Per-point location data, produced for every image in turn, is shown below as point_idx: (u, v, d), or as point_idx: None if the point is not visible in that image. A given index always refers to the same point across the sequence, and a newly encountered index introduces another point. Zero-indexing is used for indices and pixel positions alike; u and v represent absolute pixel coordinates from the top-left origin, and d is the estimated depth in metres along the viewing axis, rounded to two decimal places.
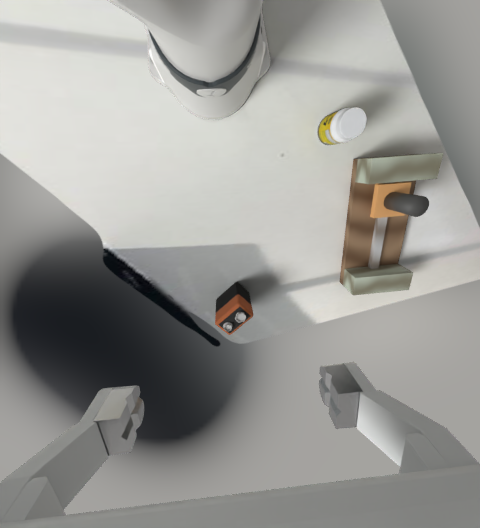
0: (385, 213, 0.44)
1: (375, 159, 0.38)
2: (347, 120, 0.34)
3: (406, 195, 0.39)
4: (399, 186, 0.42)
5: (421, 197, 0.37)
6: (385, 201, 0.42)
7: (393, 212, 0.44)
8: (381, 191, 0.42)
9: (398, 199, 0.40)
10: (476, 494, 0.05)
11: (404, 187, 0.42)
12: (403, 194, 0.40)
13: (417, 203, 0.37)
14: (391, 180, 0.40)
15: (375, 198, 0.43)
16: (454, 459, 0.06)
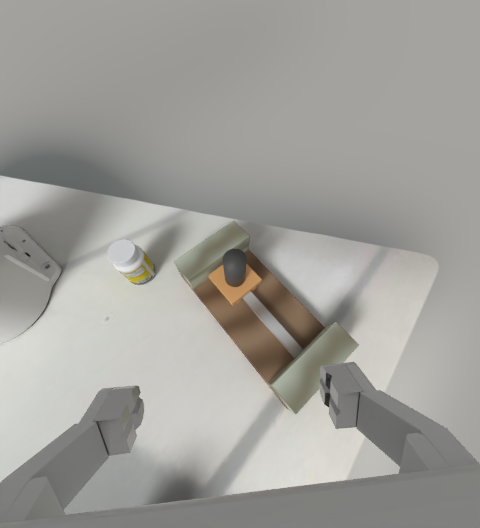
0: (240, 291, 0.36)
1: (177, 260, 0.36)
2: (114, 252, 0.34)
3: None
4: None
5: (228, 251, 0.31)
6: (226, 282, 0.36)
7: (247, 285, 0.36)
8: (216, 278, 0.37)
9: None
10: (476, 494, 0.05)
11: None
12: None
13: (229, 258, 0.31)
14: (208, 263, 0.36)
15: (217, 287, 0.37)
16: (454, 459, 0.06)
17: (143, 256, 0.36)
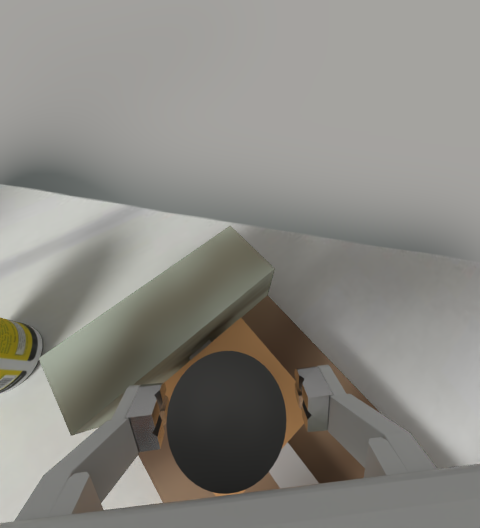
0: None
1: (50, 353, 0.11)
2: None
3: None
4: (217, 349, 0.13)
5: (196, 370, 0.07)
6: None
7: None
8: None
9: None
10: (476, 494, 0.05)
11: (234, 341, 0.13)
12: None
13: (200, 406, 0.06)
14: (148, 364, 0.11)
15: None
16: (413, 464, 0.06)
17: None
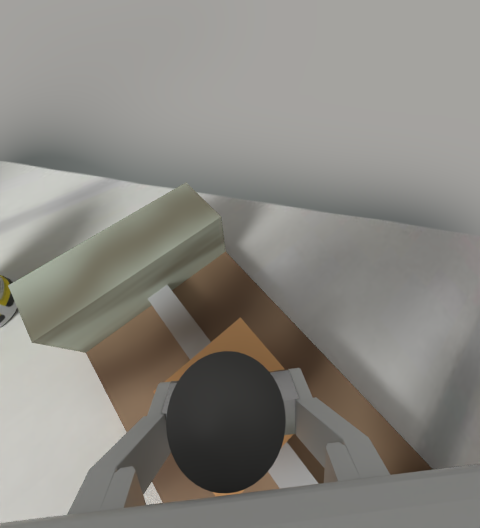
0: None
1: (18, 282, 0.13)
2: None
3: None
4: (217, 349, 0.13)
5: (196, 370, 0.07)
6: None
7: None
8: None
9: None
10: (476, 494, 0.05)
11: (234, 340, 0.13)
12: None
13: (200, 406, 0.06)
14: (102, 290, 0.13)
15: None
16: (366, 470, 0.06)
17: None
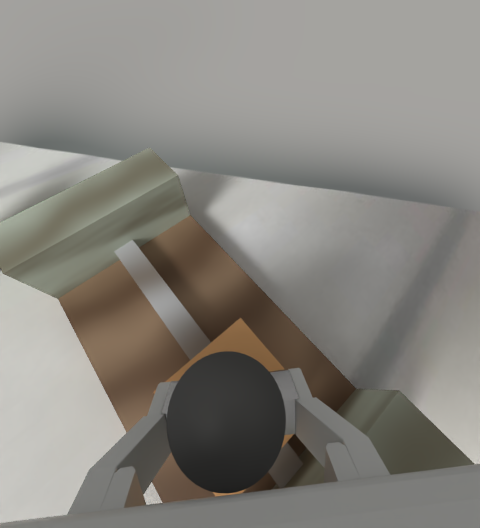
0: None
1: None
2: None
3: None
4: (217, 349, 0.13)
5: (196, 370, 0.07)
6: None
7: None
8: None
9: None
10: (476, 494, 0.05)
11: (234, 341, 0.13)
12: None
13: (200, 407, 0.06)
14: (67, 233, 0.15)
15: None
16: (366, 470, 0.06)
17: None
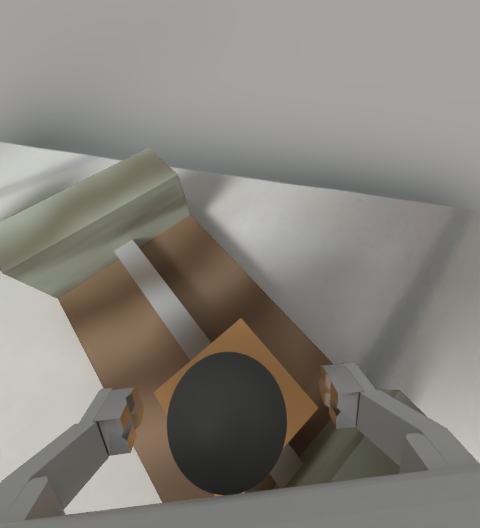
0: None
1: None
2: None
3: None
4: (218, 350, 0.13)
5: (197, 371, 0.07)
6: None
7: None
8: None
9: None
10: (476, 494, 0.05)
11: (235, 341, 0.13)
12: None
13: (200, 408, 0.06)
14: (66, 232, 0.15)
15: None
16: (454, 459, 0.06)
17: None
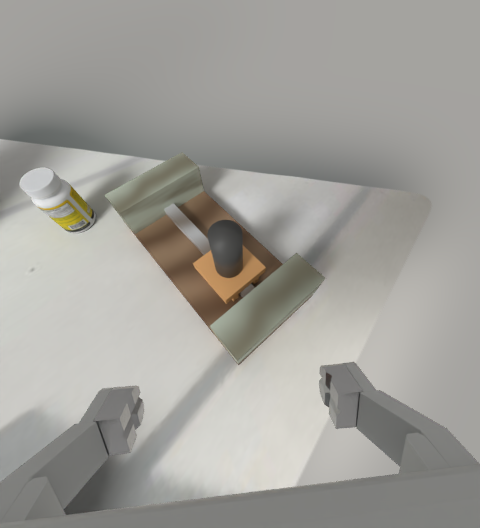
0: (236, 283, 0.26)
1: (108, 193, 0.30)
2: (27, 180, 0.28)
3: None
4: None
5: (215, 224, 0.22)
6: (217, 271, 0.26)
7: (246, 274, 0.26)
8: (203, 266, 0.27)
9: None
10: (476, 494, 0.05)
11: None
12: None
13: (217, 232, 0.21)
14: (146, 195, 0.30)
15: (205, 279, 0.27)
16: (454, 459, 0.06)
17: (69, 190, 0.30)
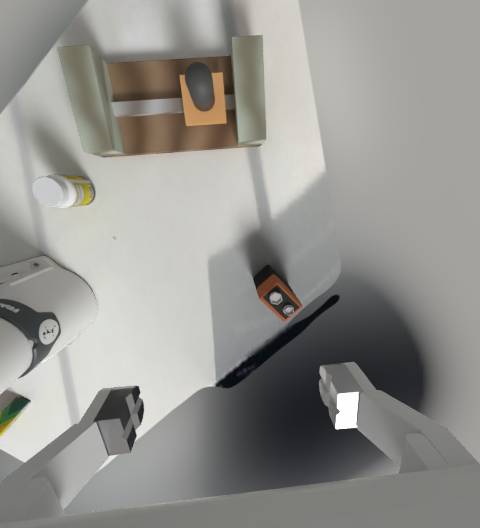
0: (220, 104, 0.34)
1: (83, 147, 0.33)
2: (46, 199, 0.32)
3: (189, 93, 0.30)
4: (185, 93, 0.33)
5: (186, 79, 0.27)
6: (204, 110, 0.33)
7: (218, 92, 0.33)
8: (193, 118, 0.34)
9: (196, 102, 0.31)
10: (476, 494, 0.05)
11: (186, 84, 0.33)
12: (190, 94, 0.31)
13: (194, 83, 0.27)
14: (103, 118, 0.32)
15: (202, 123, 0.35)
16: (454, 459, 0.06)
17: (63, 177, 0.34)
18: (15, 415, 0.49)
